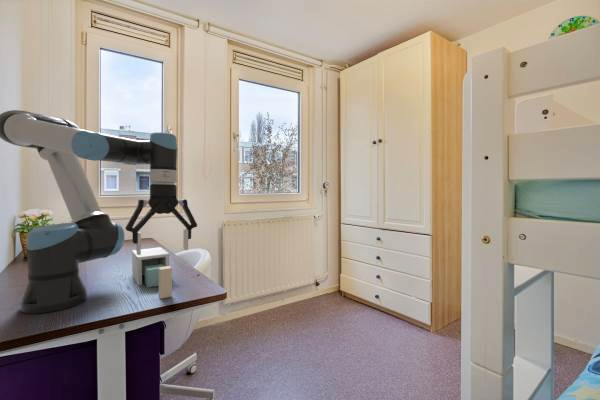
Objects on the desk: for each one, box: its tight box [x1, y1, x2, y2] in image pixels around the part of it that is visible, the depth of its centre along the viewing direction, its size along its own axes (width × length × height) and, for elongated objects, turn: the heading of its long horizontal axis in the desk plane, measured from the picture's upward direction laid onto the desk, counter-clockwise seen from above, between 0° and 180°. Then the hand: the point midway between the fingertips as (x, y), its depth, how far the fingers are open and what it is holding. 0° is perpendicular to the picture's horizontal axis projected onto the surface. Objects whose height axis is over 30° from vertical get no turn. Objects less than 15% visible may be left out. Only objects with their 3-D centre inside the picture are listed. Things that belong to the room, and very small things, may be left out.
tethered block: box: [144, 264, 173, 299], centre depth 99 cm, size 6×20×9 cm, turn 36°
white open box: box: [131, 246, 170, 286], centre depth 113 cm, size 10×15×10 cm
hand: (163, 251), depth 92 cm, fingers open, 13 cm apart
